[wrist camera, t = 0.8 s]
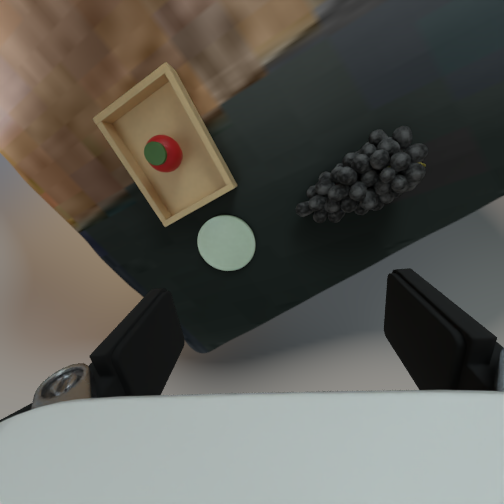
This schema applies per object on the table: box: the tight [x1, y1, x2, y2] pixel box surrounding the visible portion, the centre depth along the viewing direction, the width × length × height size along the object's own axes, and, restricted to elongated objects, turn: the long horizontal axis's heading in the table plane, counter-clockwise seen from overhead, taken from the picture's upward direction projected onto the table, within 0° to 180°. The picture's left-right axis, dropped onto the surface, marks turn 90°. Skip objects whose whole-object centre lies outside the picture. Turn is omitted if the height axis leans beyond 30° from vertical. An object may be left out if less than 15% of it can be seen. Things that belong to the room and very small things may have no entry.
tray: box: [93, 62, 237, 227], centre depth 32 cm, size 16×12×3 cm
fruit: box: [296, 126, 428, 223], centre depth 29 cm, size 9×8×15 cm
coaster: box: [197, 215, 256, 271], centre depth 37 cm, size 9×9×1 cm
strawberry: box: [144, 135, 183, 173], centre depth 30 cm, size 4×4×5 cm
